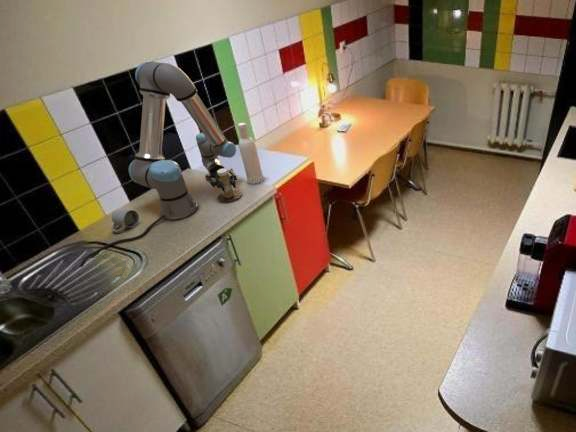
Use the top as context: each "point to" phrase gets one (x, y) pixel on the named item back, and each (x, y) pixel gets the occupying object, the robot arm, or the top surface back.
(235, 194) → the disc
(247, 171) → the bottle
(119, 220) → the ceramic mug
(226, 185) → the sprinkles bottle
